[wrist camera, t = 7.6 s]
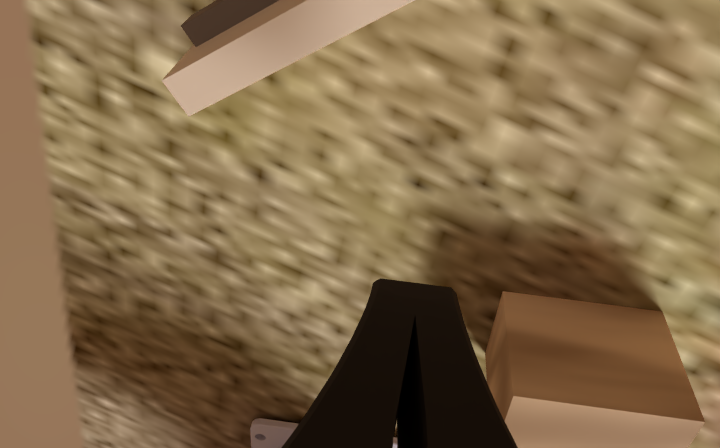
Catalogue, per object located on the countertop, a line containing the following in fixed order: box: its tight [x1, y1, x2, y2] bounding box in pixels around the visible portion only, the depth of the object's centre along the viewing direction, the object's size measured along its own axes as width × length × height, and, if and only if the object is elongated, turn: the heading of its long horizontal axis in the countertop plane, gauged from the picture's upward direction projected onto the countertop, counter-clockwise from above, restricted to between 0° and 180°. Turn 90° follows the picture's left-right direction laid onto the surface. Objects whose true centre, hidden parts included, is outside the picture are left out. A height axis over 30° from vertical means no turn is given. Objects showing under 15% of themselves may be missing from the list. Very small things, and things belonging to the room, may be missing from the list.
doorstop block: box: [485, 291, 705, 448], centre depth 23 cm, size 4×6×5 cm, turn 86°
